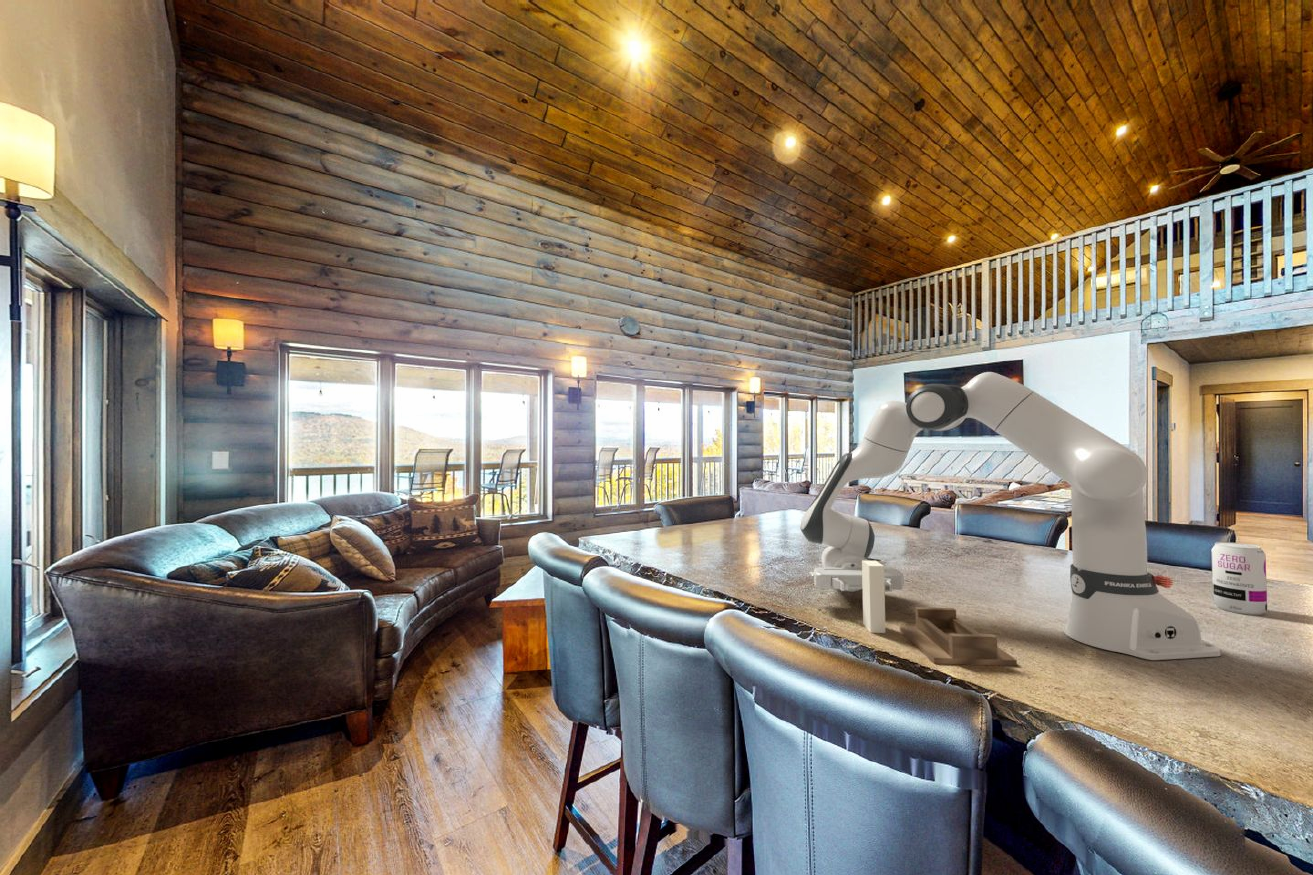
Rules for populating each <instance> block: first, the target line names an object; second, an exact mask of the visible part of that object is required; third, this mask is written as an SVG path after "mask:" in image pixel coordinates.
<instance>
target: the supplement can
mask: <svg viewBox="0 0 1313 875" xmlns="http://www.w3.org/2000/svg"><path fill="white" fill-rule="evenodd" d="M1210 551H1211V577H1212V578H1211V583H1212V604H1214V605H1215V606H1216V607H1217V608H1218V609H1220V610H1223V611H1227V612H1232V613H1235V614H1241V615H1251V616H1260V615H1264V614H1265V613H1267V612H1268V589H1267V588H1268V587H1267V584H1268V583H1267V562H1266V560H1267V559H1266V557H1267V556H1266V553H1265V552H1264V550H1263V548H1262V546H1259V545H1256V544H1249V543H1241V542H1231V541H1230V542H1228V541H1224V542H1223V541H1217V542H1216V541H1215V543H1214V545H1213V547H1212V548H1211V550H1210Z"/></svg>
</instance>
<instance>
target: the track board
mask: <svg viewBox="0 0 1313 875" xmlns="http://www.w3.org/2000/svg"><path fill="white" fill-rule="evenodd" d="M914 608H915V610H914V611H915V612H914V613H915V626H911V625H900V626H899V631H900V632H901V633H902V634H903V635H904V636H905V637H906V638H907V639H908V640H909V641H910V642H911V643H912V644H913V645H914V646H915V647H916V648H917V649H918V650H919V651H921V652H922V653H923V655H925V656H926V657H927V658H928V659H929V660H930V662H932V663H933V664H936V665H937V664H938V665H939V664H940V665H942V664H943V665H972V666H974V665H977V666H979V665H980V666H983V665H984V666H1006V667H1007V666H1012V667H1013V666H1014V667H1017V665H1018V663H1017V662H1018V660H1017V659H1016V658H1014V657H1013V656H1012V655H1010V654H1009V653H1007V652H1006V651H1004V650H1003V649H1001V648H1000V647H999V646H998V636H996V635H995V634H989V633H986V634H985V633H979V632H978V631H976V630H975V629H974V628H972V627H970V626H969V625H968V624H966V623H965V622H963V621H962V620H961V619H959V618H957V610H956V609H955V608H954V607H923V606H922V607H921V606H920V607H919V606H918V607H916V606H915V607H914Z"/></svg>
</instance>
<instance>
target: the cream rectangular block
mask: <svg viewBox="0 0 1313 875" xmlns="http://www.w3.org/2000/svg"><path fill="white" fill-rule="evenodd" d="M862 587H863V589H862V621H863V623H862V624H863V626H864V627H865V629H867V630H868V631H869V632H870V633H871V634H886V598H885V597H886V596H885V595H886V594H885V593H886V591H885V588H884V566H883V565H882V564H880V563H879V562H877V561H862Z"/></svg>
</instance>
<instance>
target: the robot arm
mask: <svg viewBox="0 0 1313 875" xmlns="http://www.w3.org/2000/svg"><path fill="white" fill-rule="evenodd" d="M968 419H973V420H974V419H975V420H976V421H979V422H980V423H982V424H984V425H985V426H987V427H988V428H989V429H991V430H992V431H994V432H995V433H997V434H998V435H999V436H1001V437H1002V438H1004V439H1005V440H1007V441H1008V442H1010V443H1011V444H1013V445H1014V446H1015V447H1017V448H1018V449H1020V450H1021V451H1023V452H1024V453H1026V454H1028V455H1029V456H1030V457H1031V458H1032V459H1034V460H1036V461H1037V462H1038V463H1039V464H1041V465H1042V466H1044V467H1045V468H1046V469H1048V470H1049V471H1050V472H1052V473H1053V474H1054V475H1056V476H1057V477H1058V478H1060V479H1061V480H1062V481H1064V482H1066V483H1067V484H1068V485H1069V486H1070V493H1071V494H1070V495H1071V496H1070V497H1071V502H1070V503H1071V544H1072V549H1071V550H1072V563H1071V564H1070V571H1069V573H1070V574H1069V576H1070V579H1069V580H1070V588H1071V591H1072V592H1071V593H1072V594H1071V603H1070V604H1071V605H1070V609H1069V611H1070V612H1069V615H1068V620H1067V622H1066V626H1065V628H1064V633H1065V634H1066V636H1067V637H1069V638H1071V639H1073V640H1075V641H1076V642H1080V643H1082V644H1085V645H1088V646H1091V647H1095V648H1098V649H1102V650H1106V651H1110V652H1116V653H1117V652H1118V653H1122V654H1126V655H1130V656H1133V657H1137V658H1140V659H1143V660H1150V661H1161V660H1164V661H1165V660H1177V659H1178V660H1179V659H1180V660H1181V659H1194V658H1195V659H1196V658H1210V657H1211V658H1212V657H1220V656H1221V650H1220V649H1219V648H1218V647H1217V646H1215V645H1213V644H1212V643H1210V642H1208V641H1206V640H1204V639H1202V636H1201V630H1200V626H1199V624H1198V621H1197V620H1196V618H1195V617H1194V616H1193V615H1192V614H1191V613H1190V612H1187V611H1186V610H1185V609H1183V608H1182V607H1180V606H1178V604H1176V603H1175V602H1173V601H1171V600H1170V599H1168V597H1166V596H1164V595H1163V594H1162V593H1160V591H1159V589H1158V587H1157V586H1160V587H1162V588H1165V589H1170V588H1171V587H1172V586H1173V584H1174V582H1173V579H1172V578H1170V577H1167V576H1163V575H1160V574H1158V575H1155V576H1154V574H1152V573H1150V572H1149V571H1148V544H1147V526H1146V521H1145V520H1146V517H1145V516H1146V515H1145V509H1144V508H1145V507H1144V495H1143V494H1144V493H1143V489H1144V487H1145V485H1146V483H1147V480H1148V470H1147V466H1146V463H1145V462H1144V460H1143V459H1142V458H1141V457H1140V456H1139V455H1138V454H1137V453H1136V452H1135V451H1133V450H1131V449H1130V448H1128V447H1126V446H1124V445H1123V444H1121V443H1119V442H1118V441H1116V440H1115V439H1113V438H1111V437H1110V436H1108V435H1106V434H1105V433H1103V432H1101V431H1099V430H1098V429H1096V428H1095V427H1093V426H1091V425H1089V423H1086V422H1084V421H1083V420H1081V419H1080V418H1078V417H1077V416H1074V415H1073V414H1072V413H1069V412H1068V411H1066V410H1064V409H1063V408H1061V407H1060V406H1058V405H1057V404H1056V403H1054V402H1052V401H1050V400H1049V399H1047V398H1046V397H1044V396H1043V395H1041V394H1039V393H1037V392H1036V391H1034V390H1032V389H1031V388H1030V387H1028V386H1026V385H1024V384H1022V383H1021V382H1018V381H1016V380H1013V379H1011V378H1009V377H1007V376H1005V375H1001V374H999V373H998V372H993V371H986V372H985V371H984V372H981V373H980V374H977V375H975V376H973V378H971V379H970V380H969V381H968V382H967V383H966V384H965V385H963V386H959V385H953V384H951V385H950V384H943V383H928V384H925V385H921V386H919V387H918V388H915V390H914V391H912V392H911V393H910V395H909V396H908V398H907V400H906V402H904V401H900V400H889V401H886V402H883V403H882V404H881V405H879V407H878V409H877V410H876V412H875V413H874V415H873V417H872V418H871V420H870V421H869V424H868V426H867V429H866V431H865V433H864V436H863V438H862V441H860V443H859V445H857V447H856V448H855V449H854V450H852V451H851V452H846V453H844V454H843V455H842V456H841V457H840V458H839V460H838V461H837V463H835V466H834V467H833V468H832V470H831V472H830V474H829V475H828V477H827V478H826V480H825V482H824V483H823V485H822V487H821V488H820V490H819V492H818V494H817V495H816V497H815V498H814V500H813V501H812V503H811V504H810V505H809V507H808V508H807V510H806V511H805V512H804V514H803V516H802V518H801V522H800V532H801V533H802V534H803V536H804V538H805V539H806V540H807V541H808V542H809V543H813V544H819V545H824V546H827V547H826V548H824V549H823V551H822V553H821V558H820V560H821V565H822V566H821V567H820V566H818V567H815V568H813V571H809V573H808V575H809V577H810V578H813V583H814V586H815V588H817V589H820V590H840V591H841V592H851V593H852V592H857V591H860V590H863V587H862V561H877V562H879V563H880V564H882V565H883V566H884V588H885V592H892V591H894V590H896V591H897V590H898V591H899V590H900V591H901V590H903V589H904V588H905V578H904V577H905V576H904V573H902V571H901V570H899V569H897V568H895V567H894V566H892V565H889V564H887V561H886V560H884V559H879V558H869V557H870V556H871V553H872V551H873V548H874V544H875V540H876V538H875V537H876V536H875V531H874V528H873V527H872V524H871V523H870V522H869V520H867V519H865V518H862V517H859V516H856V515H852V514H847V513H844V512H842V511H841V512H840V511H838V510H835V509H831V508H832V507H833V505H834V504H835V502H836V500H837V498H838V497H839V495H840V493H841V492H842V490H843V489H844V487H846V485H847V484H849V483H850V482H853V481H857V480H863V479H865V480H866V479H879V478H885V477H888V476H891V475H893V474H896V472H898V471H900V469H901V468H902V466H903V465H904V464H905V463H904V462H905V461H906V459H907V457H908V454H909V452H910V449H911V447H912V443H913V442H914V439H915V437H916V436H917V435H918V433H920V432H921V431H923V430H925V431H937V432H943V431H949V430H952V429H955V428H956V429H957V428H958V427H960V426H961V425H963V424H964V423H965V422H966V421H967V420H968Z"/></svg>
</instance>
